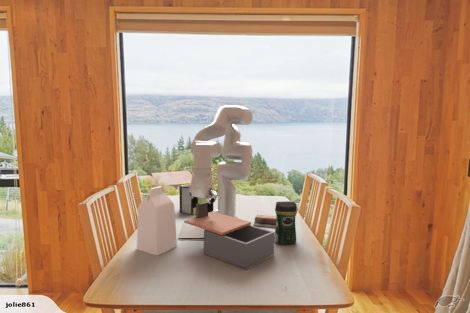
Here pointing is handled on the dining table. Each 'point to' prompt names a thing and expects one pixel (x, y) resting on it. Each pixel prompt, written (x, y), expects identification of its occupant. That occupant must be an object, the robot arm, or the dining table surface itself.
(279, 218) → the coffee jar
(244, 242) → the carton
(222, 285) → the dining table surface
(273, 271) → the dining table surface
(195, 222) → the lid
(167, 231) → the milk
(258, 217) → the packaged product
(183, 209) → the protein box
